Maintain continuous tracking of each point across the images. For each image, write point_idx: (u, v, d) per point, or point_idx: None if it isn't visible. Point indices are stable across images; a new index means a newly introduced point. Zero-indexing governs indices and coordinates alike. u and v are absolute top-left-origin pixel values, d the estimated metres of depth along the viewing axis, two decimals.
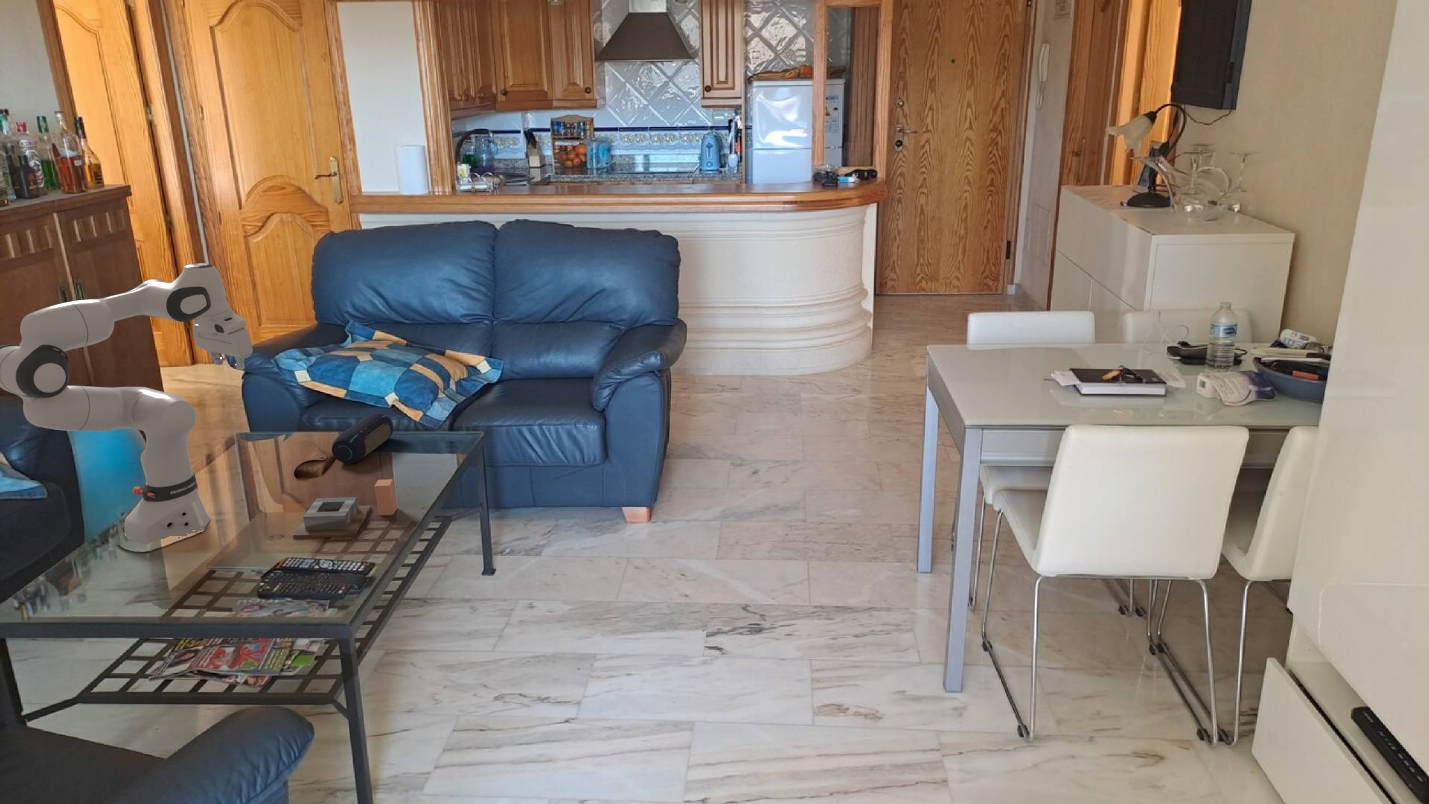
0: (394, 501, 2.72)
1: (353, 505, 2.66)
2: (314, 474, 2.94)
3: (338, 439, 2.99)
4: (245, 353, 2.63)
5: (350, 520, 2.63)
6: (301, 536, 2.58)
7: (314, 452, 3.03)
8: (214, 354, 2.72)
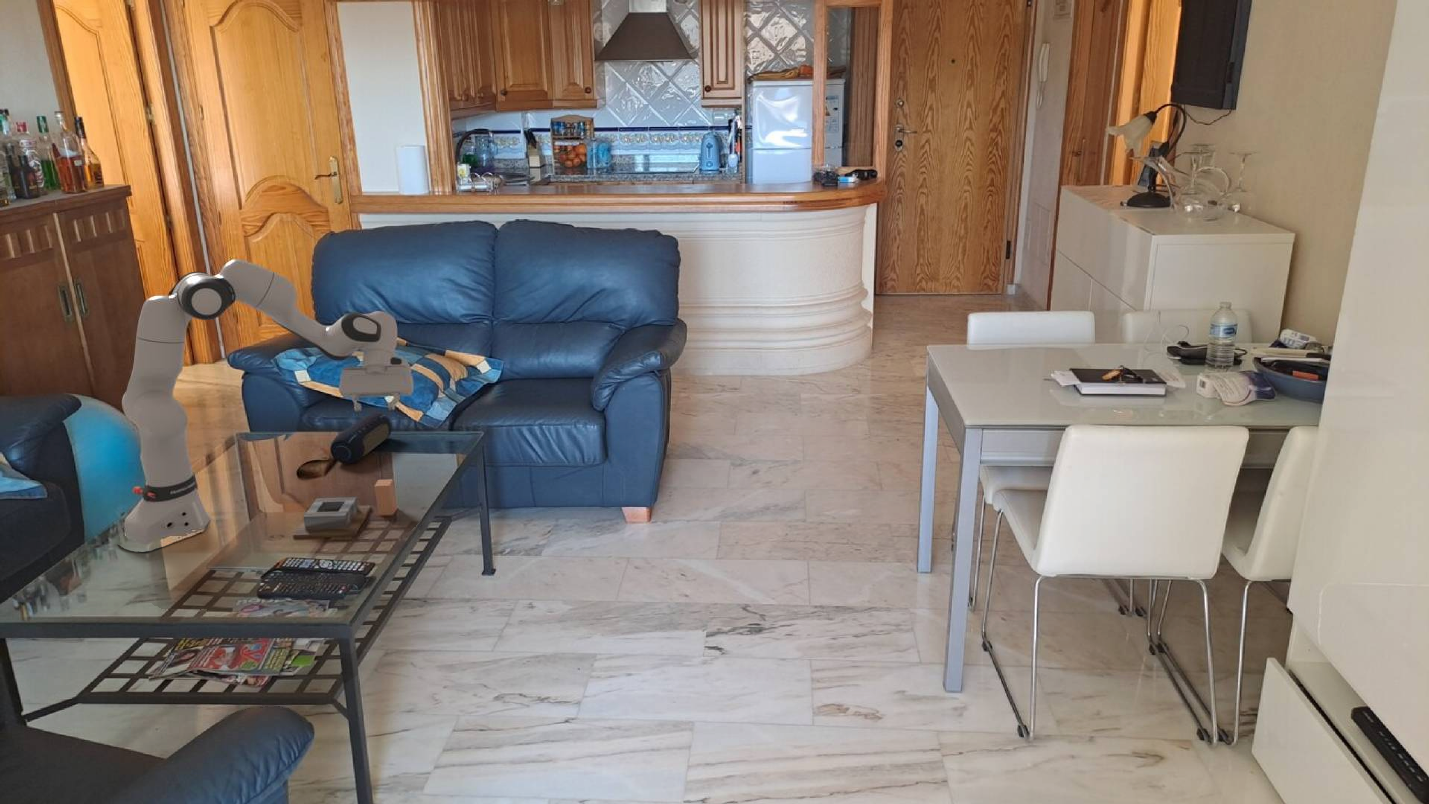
0: (394, 501, 2.72)
1: (353, 505, 2.66)
2: (317, 474, 2.94)
3: (337, 439, 2.99)
4: (411, 388, 2.76)
5: (350, 520, 2.63)
6: (301, 536, 2.58)
7: (317, 452, 3.03)
8: (355, 400, 2.75)
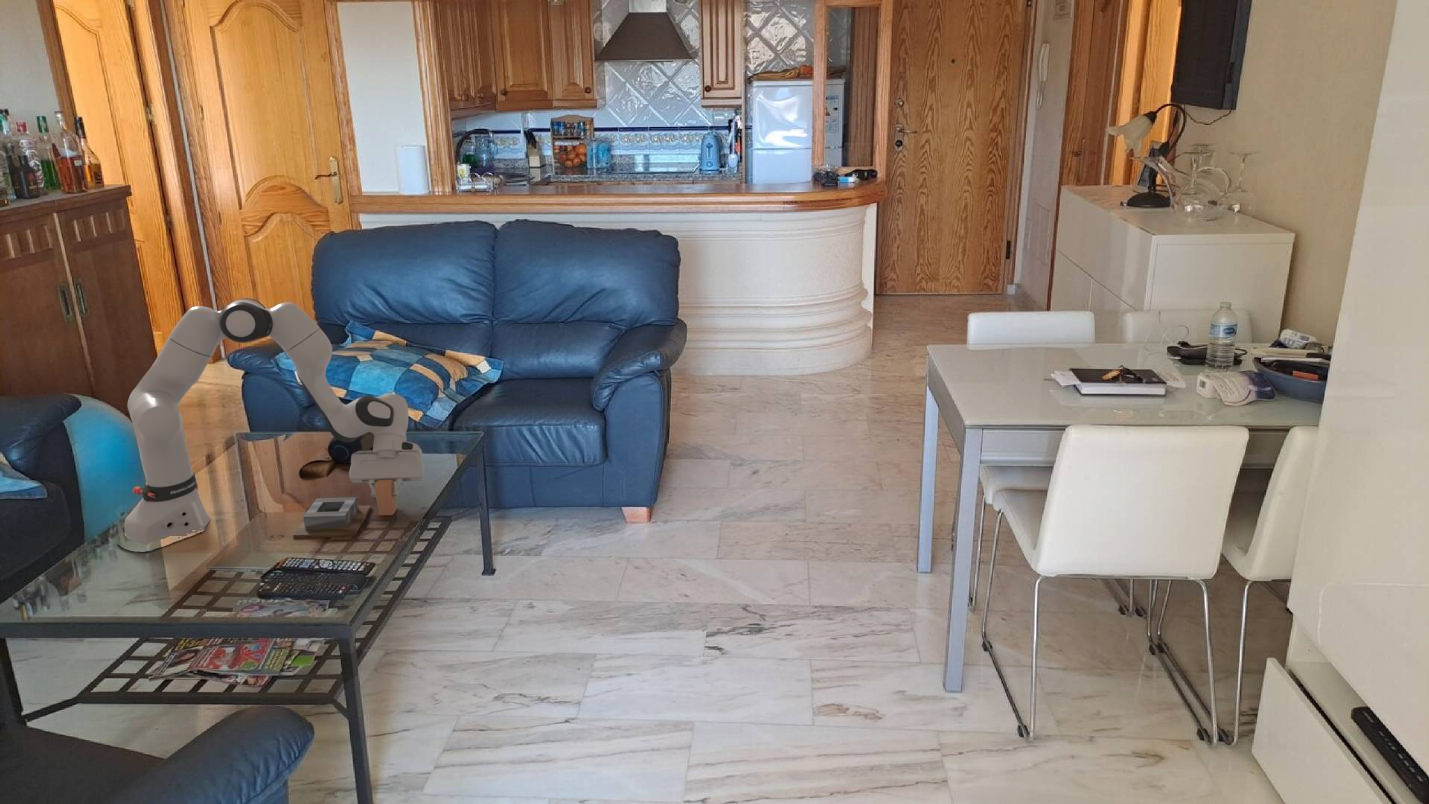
0: (394, 501, 2.72)
1: (353, 505, 2.66)
2: (319, 474, 2.94)
3: (334, 439, 2.99)
4: (422, 473, 2.71)
5: (350, 520, 2.63)
6: (301, 536, 2.58)
7: (320, 452, 3.03)
8: (373, 486, 2.70)
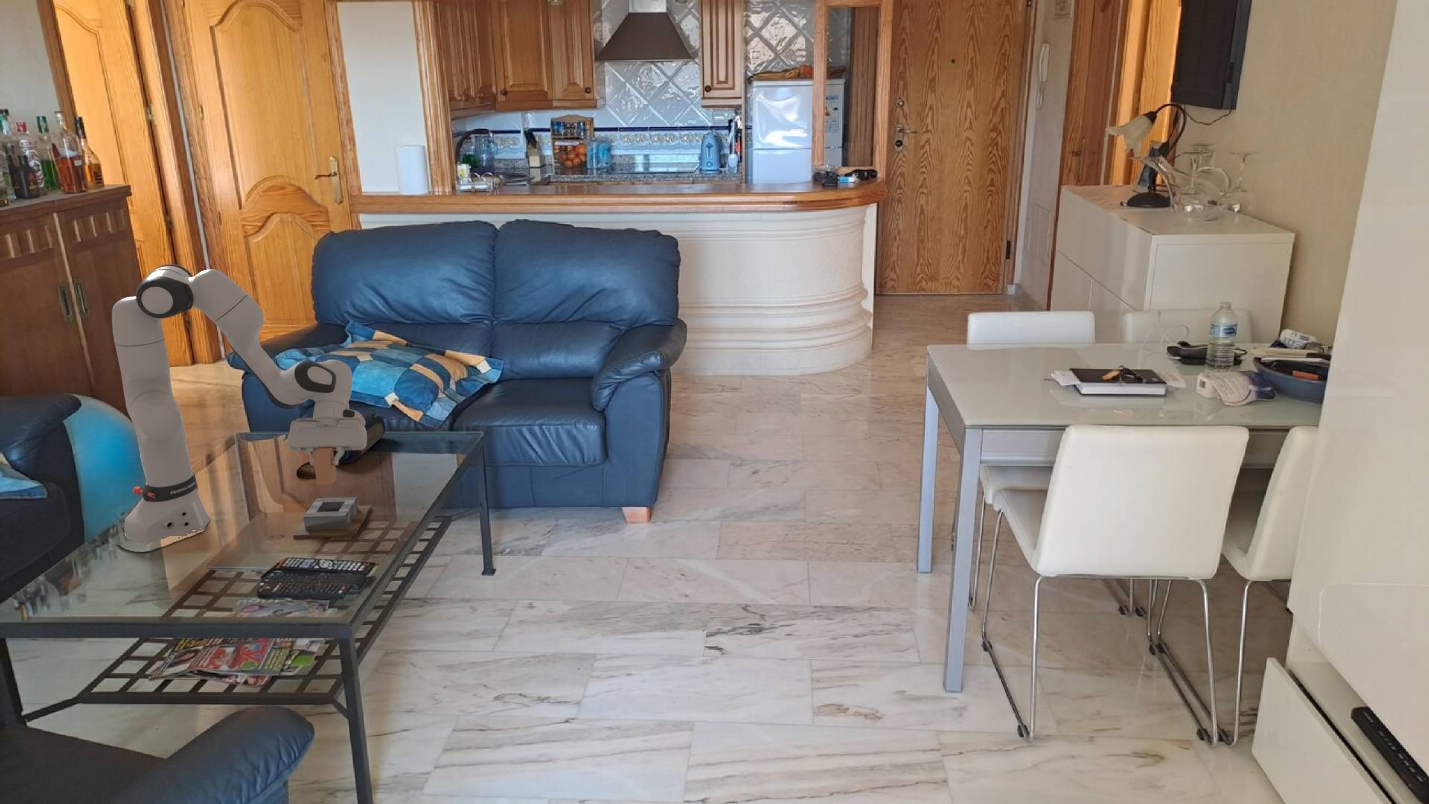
0: (334, 470, 2.61)
1: (353, 505, 2.66)
2: None
3: None
4: (363, 442, 2.61)
5: (350, 520, 2.63)
6: (301, 536, 2.58)
7: None
8: (312, 454, 2.60)
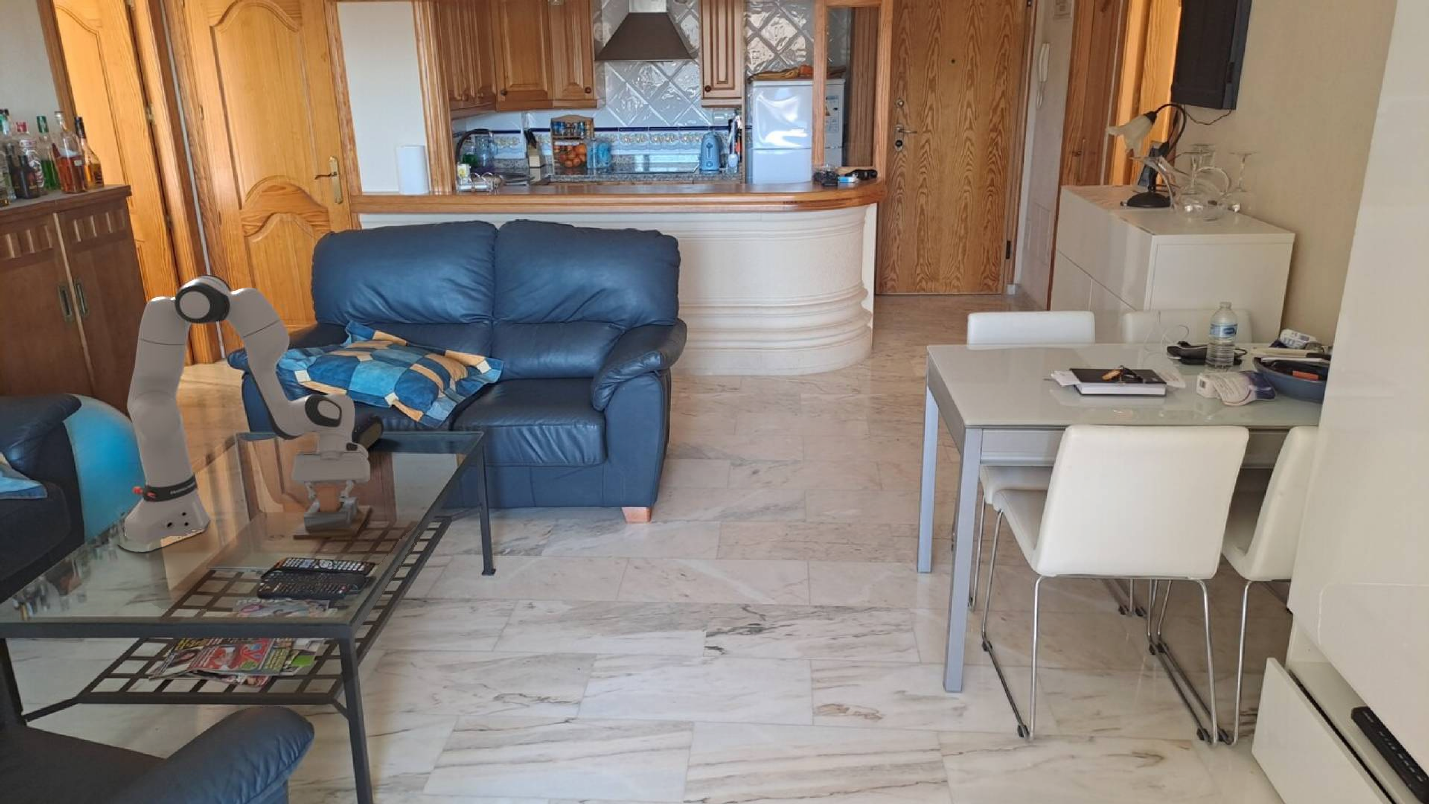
0: (339, 509, 2.65)
1: (353, 505, 2.66)
2: None
3: None
4: (367, 475, 2.65)
5: (350, 520, 2.63)
6: (301, 536, 2.58)
7: None
8: (310, 488, 2.63)
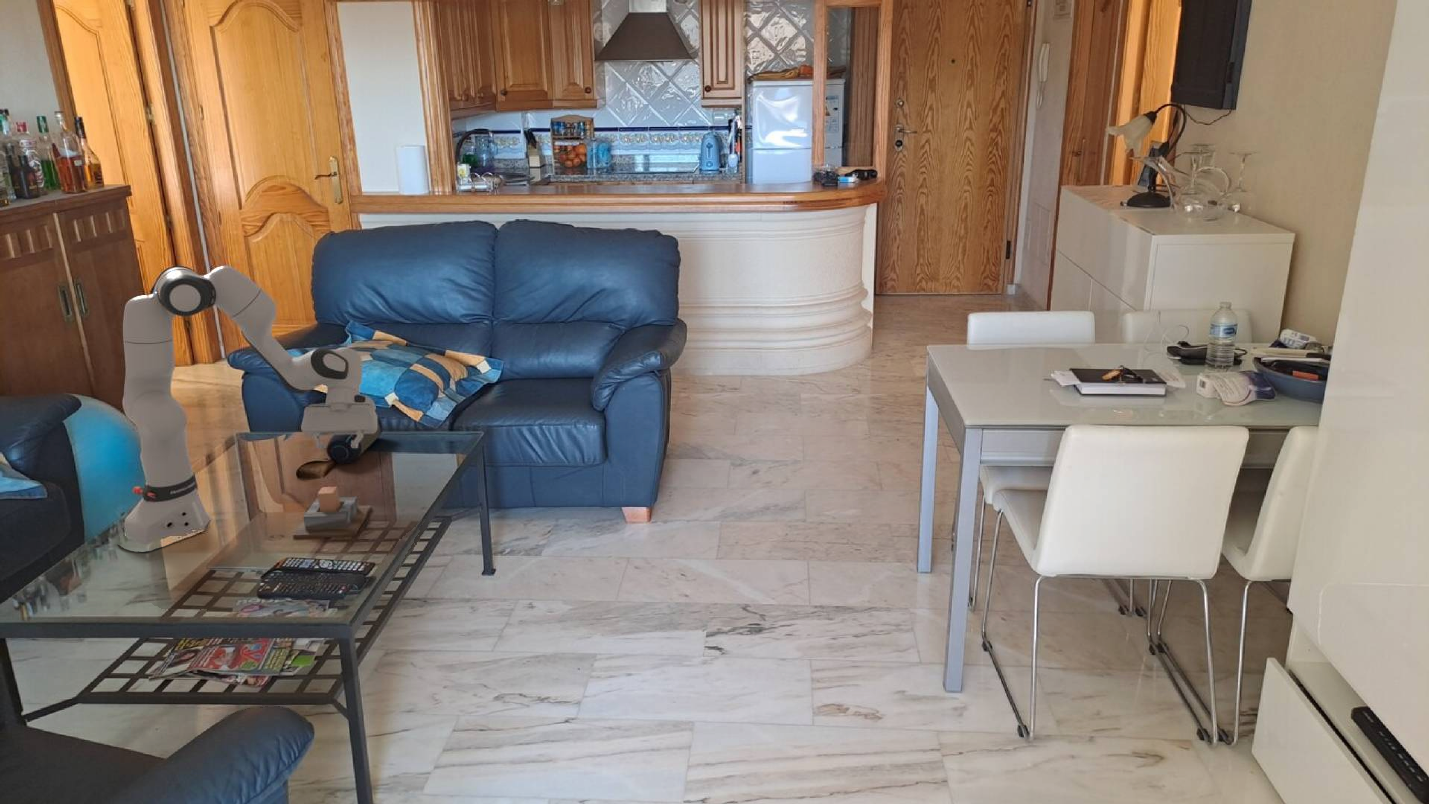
0: (339, 509, 2.65)
1: (353, 505, 2.66)
2: (316, 475, 2.93)
3: (333, 439, 2.99)
4: (374, 426, 2.73)
5: (350, 520, 2.63)
6: (301, 536, 2.58)
7: (319, 453, 3.02)
8: (318, 438, 2.71)
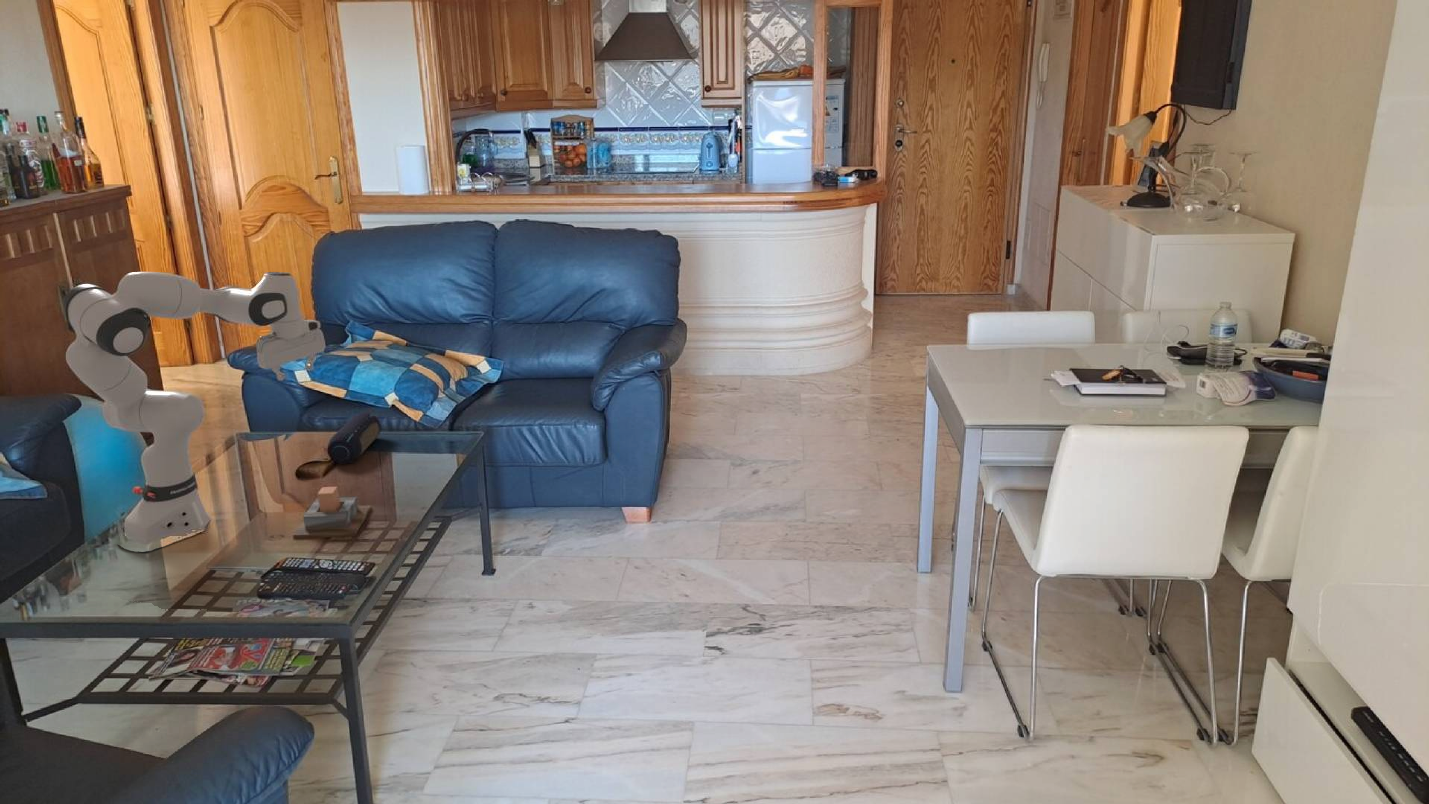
0: (339, 509, 2.65)
1: (353, 505, 2.66)
2: (315, 475, 2.93)
3: (334, 439, 2.98)
4: None
5: (350, 520, 2.63)
6: (301, 536, 2.58)
7: (319, 453, 3.02)
8: None
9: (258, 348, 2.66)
